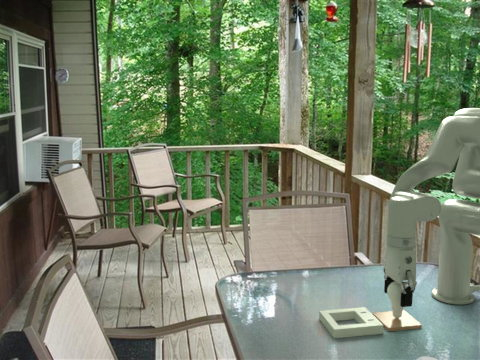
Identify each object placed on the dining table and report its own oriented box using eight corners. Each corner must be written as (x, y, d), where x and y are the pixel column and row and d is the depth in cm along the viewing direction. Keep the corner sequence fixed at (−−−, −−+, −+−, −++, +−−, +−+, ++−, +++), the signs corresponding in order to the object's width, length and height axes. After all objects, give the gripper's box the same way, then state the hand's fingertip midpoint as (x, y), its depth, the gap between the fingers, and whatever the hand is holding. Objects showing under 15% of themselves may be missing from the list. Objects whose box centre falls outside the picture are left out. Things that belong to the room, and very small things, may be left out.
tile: (403, 313, 154) (404, 309, 154) (421, 328, 145) (421, 324, 144) (372, 315, 152) (372, 312, 152) (388, 331, 143) (388, 327, 143)
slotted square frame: (364, 315, 153) (364, 306, 153) (382, 333, 141) (383, 324, 141) (319, 319, 150) (319, 310, 150) (334, 338, 139) (334, 329, 138)
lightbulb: (412, 317, 149) (414, 281, 147) (401, 325, 144) (403, 287, 142) (392, 311, 153) (394, 276, 151) (381, 318, 149) (383, 281, 146)
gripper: (429, 249, 137) (425, 310, 140) (398, 232, 153) (395, 287, 156) (403, 251, 135) (400, 313, 138) (374, 233, 152) (372, 288, 155)
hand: (397, 299), depth 147 cm, fingers open, 9 cm apart
